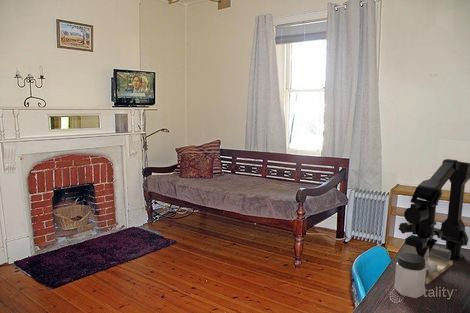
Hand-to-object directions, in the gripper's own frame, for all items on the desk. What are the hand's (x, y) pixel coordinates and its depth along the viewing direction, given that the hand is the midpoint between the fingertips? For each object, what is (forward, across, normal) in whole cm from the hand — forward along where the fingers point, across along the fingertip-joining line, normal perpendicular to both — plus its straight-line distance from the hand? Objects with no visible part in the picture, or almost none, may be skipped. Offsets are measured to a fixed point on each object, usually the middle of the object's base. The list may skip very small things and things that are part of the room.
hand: (422, 259), depth 132 cm
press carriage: (+4, 0, 0) cm, 4 cm away
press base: (+6, -5, 0) cm, 7 cm away
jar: (+6, +17, +3) cm, 18 cm away
